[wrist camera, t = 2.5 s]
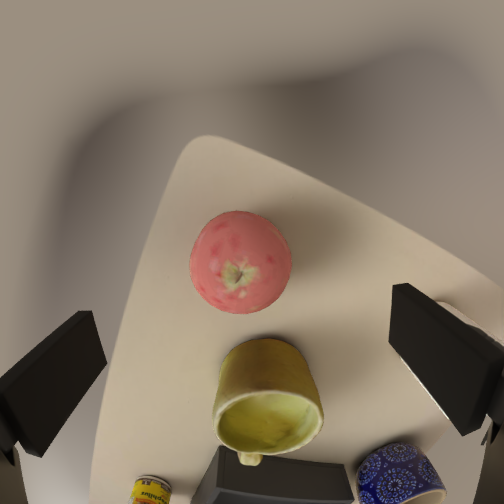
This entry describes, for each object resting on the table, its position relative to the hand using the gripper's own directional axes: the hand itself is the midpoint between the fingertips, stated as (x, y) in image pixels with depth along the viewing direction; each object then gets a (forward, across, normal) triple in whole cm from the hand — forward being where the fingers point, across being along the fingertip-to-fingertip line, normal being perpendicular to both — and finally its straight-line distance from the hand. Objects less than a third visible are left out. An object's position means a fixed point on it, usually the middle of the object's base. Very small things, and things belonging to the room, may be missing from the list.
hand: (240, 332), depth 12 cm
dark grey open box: (+15, -1, -35) cm, 38 cm away
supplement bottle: (+15, -17, -34) cm, 41 cm away
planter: (+16, +17, -32) cm, 39 cm away
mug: (+15, 0, -14) cm, 21 cm away
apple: (+15, 0, 0) cm, 15 cm away
